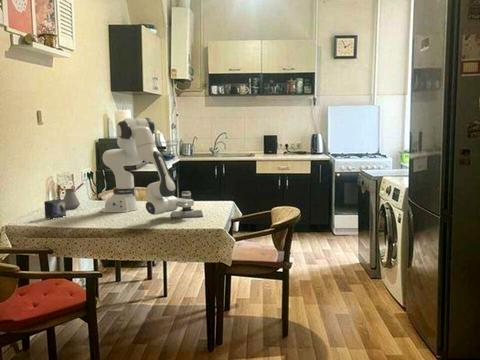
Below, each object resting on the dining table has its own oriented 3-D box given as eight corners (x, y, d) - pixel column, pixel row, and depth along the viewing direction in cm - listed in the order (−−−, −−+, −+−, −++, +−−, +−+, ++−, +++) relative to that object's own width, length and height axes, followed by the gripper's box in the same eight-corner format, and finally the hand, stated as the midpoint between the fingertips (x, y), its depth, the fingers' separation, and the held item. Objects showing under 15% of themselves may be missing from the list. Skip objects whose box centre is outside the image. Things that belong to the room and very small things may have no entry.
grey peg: (182, 212, 286) (181, 192, 284) (182, 211, 291) (181, 191, 290) (191, 212, 287) (190, 192, 285) (191, 210, 292) (190, 191, 290)
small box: (51, 219, 285) (50, 202, 284) (44, 218, 289) (43, 201, 287) (66, 216, 294) (65, 199, 293) (59, 215, 297) (58, 198, 296)
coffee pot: (72, 210, 313) (71, 187, 310) (57, 209, 316) (56, 187, 314) (92, 204, 333) (91, 182, 331) (78, 203, 336) (76, 182, 334)
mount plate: (171, 218, 280) (171, 213, 280) (171, 213, 296) (171, 208, 295) (202, 217, 282) (202, 211, 282) (201, 211, 298) (201, 206, 298)
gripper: (183, 199, 271) (200, 196, 282) (158, 196, 283) (175, 193, 294) (183, 210, 272) (200, 206, 283) (158, 207, 284) (175, 203, 295)
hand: (187, 199), depth 289 cm, fingers closed on grey peg, 5 cm apart
